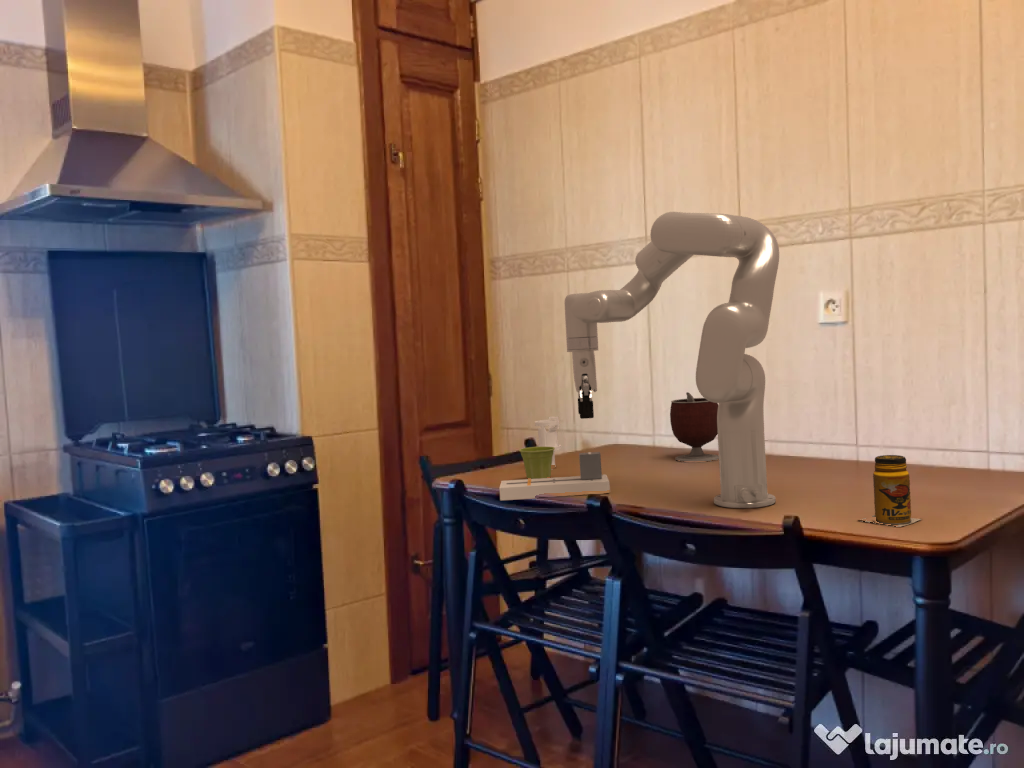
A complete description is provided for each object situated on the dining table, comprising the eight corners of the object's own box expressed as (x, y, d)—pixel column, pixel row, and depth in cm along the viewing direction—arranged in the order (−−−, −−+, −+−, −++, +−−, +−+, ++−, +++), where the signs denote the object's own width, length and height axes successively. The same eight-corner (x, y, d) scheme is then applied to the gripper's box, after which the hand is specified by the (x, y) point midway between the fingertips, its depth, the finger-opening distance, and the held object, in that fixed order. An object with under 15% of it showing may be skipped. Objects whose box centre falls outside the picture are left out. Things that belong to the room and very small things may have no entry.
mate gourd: (678, 455, 252) (674, 388, 251) (725, 455, 247) (721, 386, 245) (666, 464, 238) (662, 393, 237) (716, 463, 232) (712, 391, 231)
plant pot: (527, 478, 230) (525, 446, 230) (561, 477, 227) (558, 445, 227) (516, 484, 221) (514, 451, 221) (551, 484, 218) (548, 450, 218)
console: (610, 493, 199) (609, 480, 199) (500, 500, 201) (499, 487, 200) (607, 486, 209) (606, 474, 209) (502, 492, 211) (501, 480, 210)
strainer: (556, 470, 239) (553, 417, 238) (533, 470, 242) (530, 418, 242) (566, 466, 246) (562, 415, 245) (543, 466, 249) (540, 415, 248)
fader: (602, 478, 203) (600, 453, 202) (581, 479, 203) (579, 454, 203) (601, 476, 206) (599, 451, 206) (580, 477, 206) (579, 452, 206)
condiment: (900, 528, 150) (897, 460, 149) (856, 521, 157) (853, 457, 156) (922, 520, 154) (919, 455, 153) (878, 514, 161) (875, 452, 160)
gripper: (600, 345, 194) (604, 419, 195) (596, 343, 211) (599, 411, 212) (567, 346, 194) (571, 420, 195) (565, 345, 212) (569, 413, 213)
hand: (586, 416), depth 204 cm, fingers open, 9 cm apart
